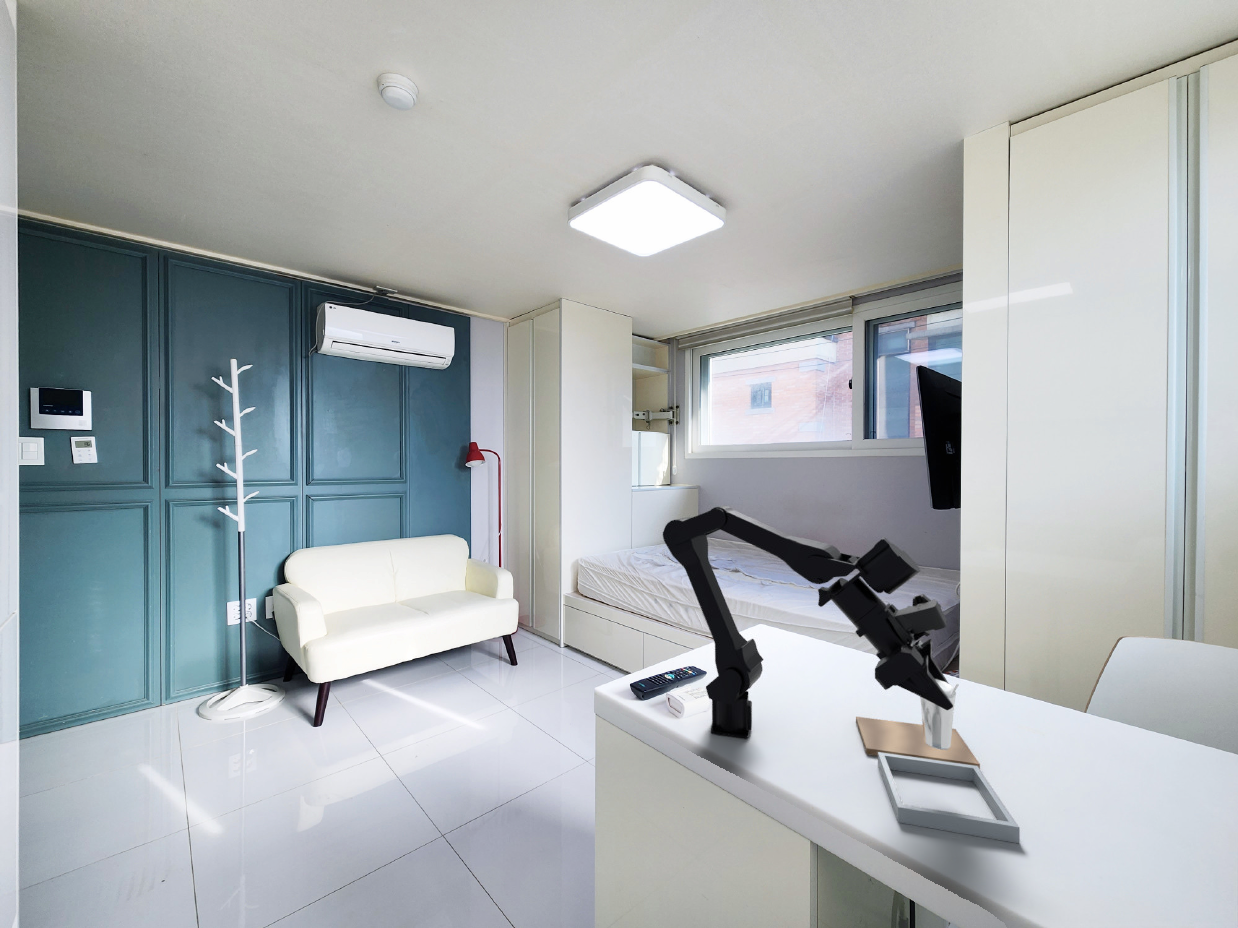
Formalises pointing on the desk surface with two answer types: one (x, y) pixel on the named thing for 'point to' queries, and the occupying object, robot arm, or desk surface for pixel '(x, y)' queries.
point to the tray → (946, 820)
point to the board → (909, 741)
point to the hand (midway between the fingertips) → (951, 701)
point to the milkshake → (938, 719)
